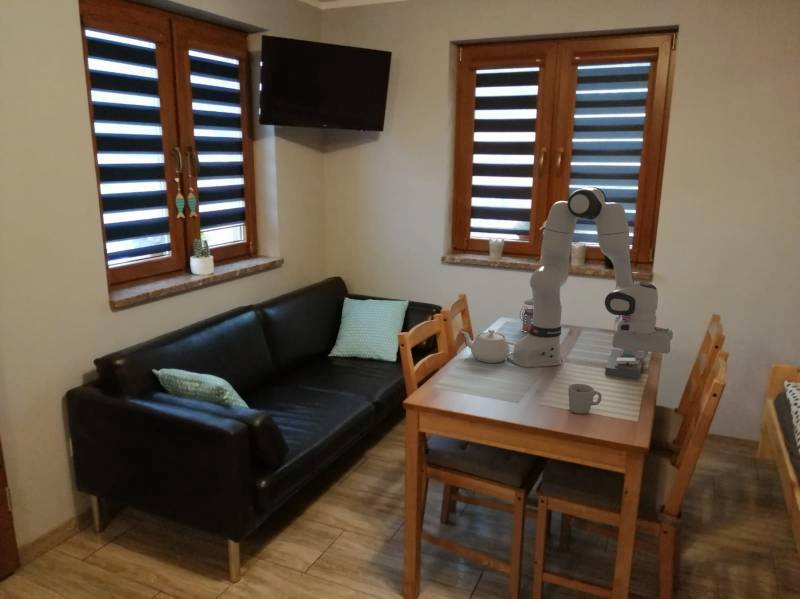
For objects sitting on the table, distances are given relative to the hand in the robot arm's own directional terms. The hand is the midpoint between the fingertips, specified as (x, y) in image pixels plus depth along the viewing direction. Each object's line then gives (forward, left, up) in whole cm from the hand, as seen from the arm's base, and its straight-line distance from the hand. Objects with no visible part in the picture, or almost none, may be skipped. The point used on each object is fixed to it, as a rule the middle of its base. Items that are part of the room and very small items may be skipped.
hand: (639, 361), depth 224 cm
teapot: (-41, +40, -6) cm, 57 cm away
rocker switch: (-2, +3, -1) cm, 4 cm away
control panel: (+3, +9, -6) cm, 11 cm away
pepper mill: (+26, +31, -6) cm, 41 cm away
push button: (+4, +8, -1) cm, 9 cm away
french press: (0, +65, -6) cm, 66 cm away
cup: (-41, -16, -6) cm, 44 cm away
